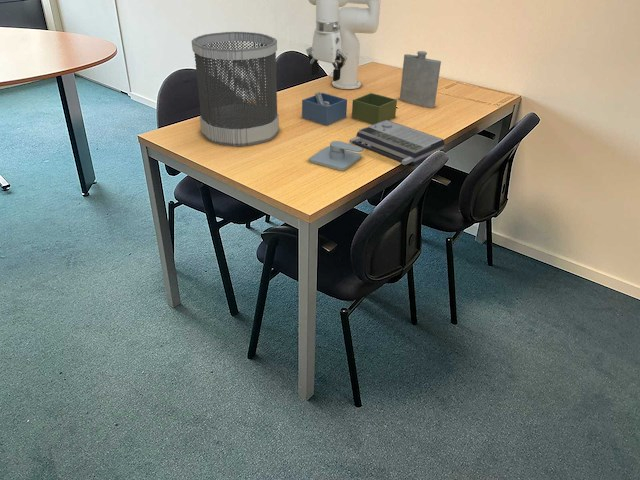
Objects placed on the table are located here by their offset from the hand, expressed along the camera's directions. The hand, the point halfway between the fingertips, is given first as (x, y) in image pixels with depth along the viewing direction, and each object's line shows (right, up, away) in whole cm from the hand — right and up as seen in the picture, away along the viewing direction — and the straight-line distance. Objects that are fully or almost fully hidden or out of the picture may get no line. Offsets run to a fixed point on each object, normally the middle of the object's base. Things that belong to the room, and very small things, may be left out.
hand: (325, 77), depth 187 cm
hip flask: (+37, -3, +24) cm, 44 cm away
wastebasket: (-29, -21, -6) cm, 36 cm away
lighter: (-1, -12, +8) cm, 14 cm away
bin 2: (+18, -12, +9) cm, 23 cm away
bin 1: (0, -13, +8) cm, 15 cm away
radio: (+22, -28, -16) cm, 40 cm away
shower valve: (+4, -33, -24) cm, 41 cm away
